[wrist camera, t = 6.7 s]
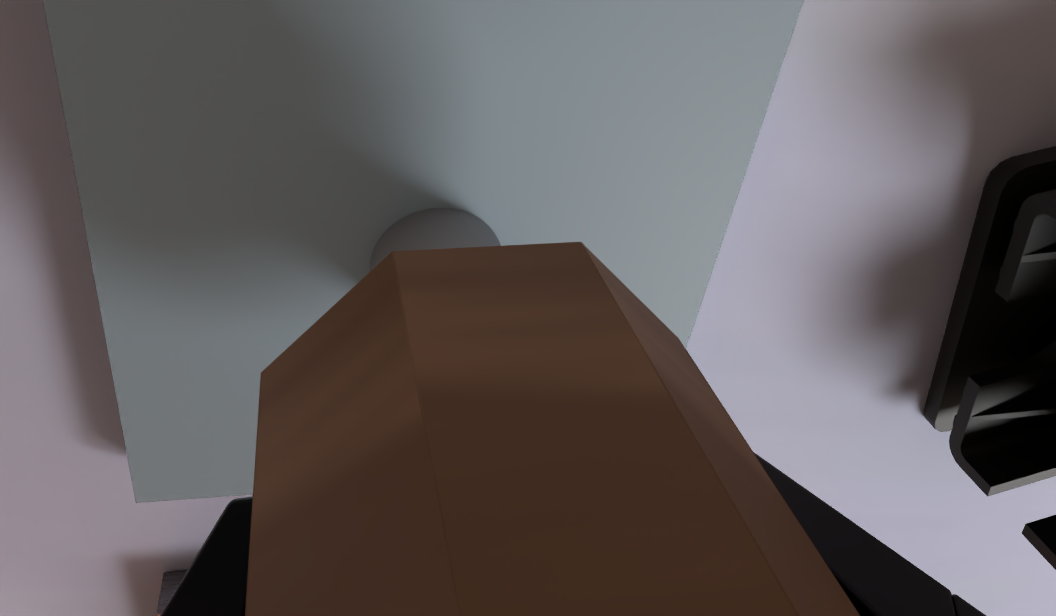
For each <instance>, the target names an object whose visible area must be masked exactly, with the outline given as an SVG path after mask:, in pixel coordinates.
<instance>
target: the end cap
mask: <svg viewBox="0 0 1056 616" xmlns="http://www.w3.org/2000/svg"><path fill="white" fill-rule="evenodd" d="M924 417H925V418H926V419H927V420H928V421H929V423H930V424H931V425H932V426H933V427H934V428H935V429H937V430H938V431H940V432H943V431H950V430H952V431H951V434H950V439H949V444H950V450H951V453H952V455H953V457H954V459H955V461H956V462H957V464H958V465H959V466H960V467H961V468H962V470H963V471H964V472H965V473H966V474H967V475H968V476H969V477H970V478H971V479H972V480H973V481H974V482H975V484H976V485H977V486H978V487H979V488H980V489H981V490H982V491H983V492H984V493H985V494H986V495H987V496H990V495H994V494H997V493H1000V492H1004V491H1007V490H1010V489H1014V488H1017V487H1020V486H1024V485H1027V484H1030V483H1034V482H1037V481H1040V480H1044V479H1047V478H1050V477H1054V476H1056V146H1054V147H1050V148H1046V149H1042V150H1038V151H1034V152H1030V153H1026V154H1022V155H1018V156H1014V157H1011V158H1009V159H1007V160H1005V161H1002V162H1001V163H1000V164H999V165H997V166H996V167H995V168H994V169H993V170H992V171H991V172H990V174H989V176H988V178H987V180H986V182H985V185H984V189H983V193H982V196H981V200H980V204H979V207H978V211H977V215H976V219H975V222H974V226H973V230H972V233H971V237H970V241H969V245H968V248H967V252H966V256H965V259H964V263H963V267H962V271H961V274H960V278H959V282H958V285H957V289H956V293H955V297H954V300H953V304H952V308H951V311H950V315H949V319H948V323H947V326H946V330H945V334H944V337H943V341H942V345H941V349H940V352H939V356H938V360H937V363H936V367H935V371H934V375H933V378H932V382H931V386H930V389H929V393H928V397H927V401H926V404H925V408H924ZM1022 534H1023V535H1024V536H1025V537H1026V538H1027V540H1028V541H1029V542H1030V543H1031V544H1032V545H1033V546H1034V547H1035V548H1036V549H1037V550H1038V551H1039V552H1040V554H1041V555H1042V556H1043V557H1044V558H1045V559H1046V560H1047V561H1048V562H1049V563H1050V564H1051V565H1052V566H1053V568H1054V569H1055V570H1056V515H1053V516H1050V517H1047V518H1044V519H1040V520H1037V521H1034V522H1031V523H1027V524H1026V525H1025V527H1024V529H1023V531H1022Z"/></svg>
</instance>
